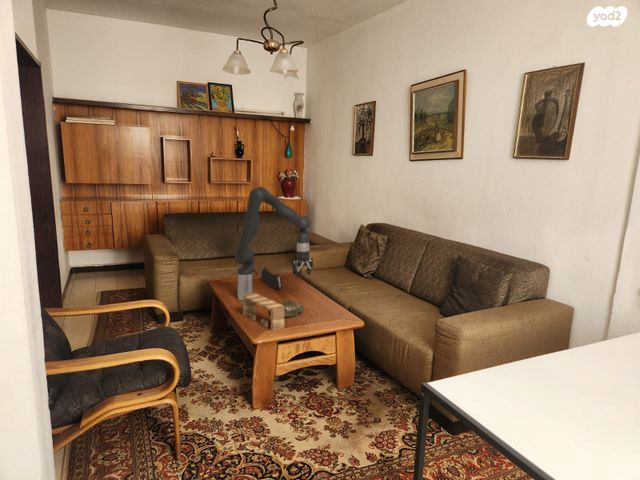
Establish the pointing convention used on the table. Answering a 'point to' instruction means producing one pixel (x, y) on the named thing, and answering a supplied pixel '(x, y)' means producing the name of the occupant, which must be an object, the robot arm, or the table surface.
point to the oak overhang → (275, 308)
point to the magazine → (271, 279)
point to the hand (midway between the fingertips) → (303, 276)
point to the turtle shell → (292, 308)
